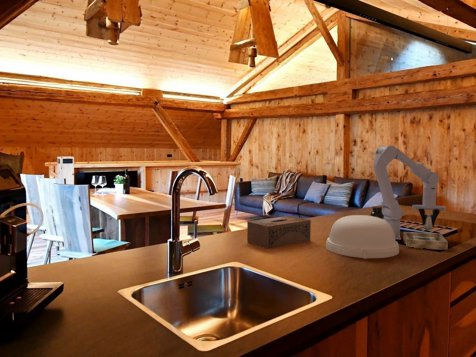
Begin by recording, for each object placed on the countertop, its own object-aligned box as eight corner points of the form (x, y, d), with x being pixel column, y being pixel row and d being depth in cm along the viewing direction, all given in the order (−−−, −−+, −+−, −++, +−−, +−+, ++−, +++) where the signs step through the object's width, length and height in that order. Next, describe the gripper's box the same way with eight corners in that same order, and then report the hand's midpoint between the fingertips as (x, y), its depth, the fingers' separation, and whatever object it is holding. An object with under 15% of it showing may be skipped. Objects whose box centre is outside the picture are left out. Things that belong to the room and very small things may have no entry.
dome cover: (405, 261, 156) (407, 225, 155) (325, 257, 162) (326, 222, 161) (392, 242, 188) (393, 211, 186) (325, 239, 194) (326, 209, 193)
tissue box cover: (289, 235, 201) (289, 215, 200) (310, 241, 189) (310, 219, 189) (247, 243, 186) (247, 221, 185) (267, 249, 174) (267, 226, 174)
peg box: (406, 247, 177) (406, 239, 176) (403, 239, 192) (403, 231, 192) (447, 250, 172) (447, 241, 172) (440, 241, 187) (440, 234, 187)
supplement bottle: (381, 228, 217) (382, 206, 216) (385, 231, 210) (385, 208, 209) (368, 228, 218) (369, 205, 217) (371, 230, 211) (372, 207, 210)
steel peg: (424, 229, 196) (425, 215, 195) (423, 228, 199) (424, 213, 198) (432, 229, 194) (433, 215, 194) (431, 228, 198) (432, 214, 197)
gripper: (414, 197, 194) (413, 225, 195) (447, 198, 190) (446, 227, 191) (412, 195, 200) (411, 222, 202) (444, 196, 196) (443, 224, 197)
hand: (428, 224), depth 197 cm, fingers closed on steel peg, 4 cm apart
